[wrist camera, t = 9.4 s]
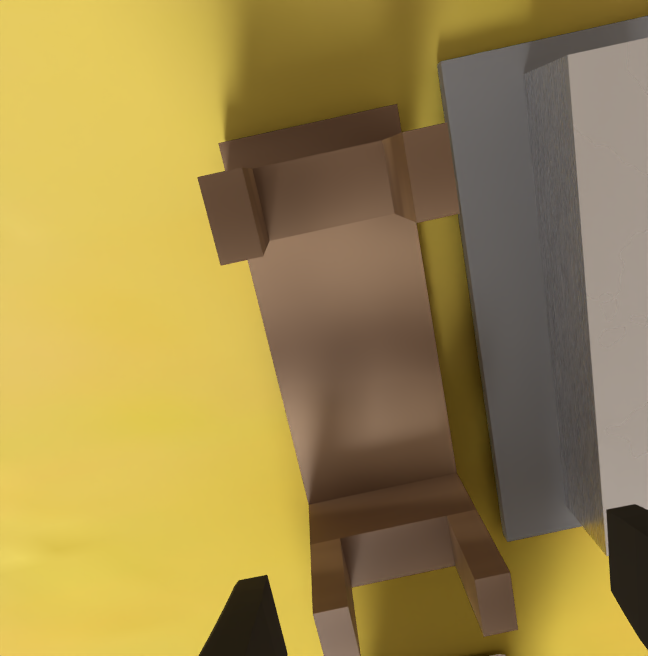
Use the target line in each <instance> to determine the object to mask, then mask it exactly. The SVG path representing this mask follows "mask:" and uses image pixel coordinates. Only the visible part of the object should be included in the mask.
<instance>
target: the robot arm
mask: <svg viewBox="0 0 648 656" xmlns="http://www.w3.org/2000/svg"><path fill="white" fill-rule="evenodd" d="M606 514H607V532H608V549H609V567H610V584H611V591H612V593H613V595H614V597H615V598H616V600H617V602H618V604H619V605H620V607H621V609H622V611H623V612H624V614H625V616H626V617H627V619H628V621H629V622H630V624H631V626H632V627H633V629H634V630H635V632H636V634H637V635H638V637H639V639H640V640H641V641H642V643H643V644H644V645H645V647H646V648H647V649H648V510H647V509H645V508H643V507H641V506H638V505H636V504H632V505H627V506H622V507H617V508H612V509H606ZM199 656H287V650H286V646H285V642H284V638H283V634H282V630H281V626H280V623H279V619H278V615H277V611H276V607H275V603H274V599H273V595H272V592H271V588H270V584H269V580H268V576H267V575H264V576H259V577H254V578H249V579H244V580H239V581H238V582H237V584H236V585H235V586H234V589H233V591H232V593H231V595H230V597H229V599H228V601H227V603H226V605H225V607H224V609H223V611H222V613H221V615H220V617H219V619H218V621H217V623H216V625H215V627H214V628H213V630H212V632H211V634H210V636H209V638H208V640H207V642H206V643H205V645H204V647H203V649H202V651H201V652H200V654H199ZM491 656H506V655H503V654H496V655H491Z"/></svg>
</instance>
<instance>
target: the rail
mask: <svg viewBox="0 0 648 656" xmlns="http://www.w3.org/2000/svg"><path fill="white" fill-rule="evenodd" d="M523 79H524V89H525V99H526V109H527V119H528V129H529V139H530V149H531V159H532V170H533V180H534V190H535V200H536V210H537V220H538V230H539V240H540V250H541V261H542V271H543V281H544V291H545V301H546V311H547V321H548V331H549V342H550V352H551V362H552V372H553V382H554V392H555V402H556V412H557V422H558V433H559V443H560V453H561V463H562V473H563V483H564V493H565V503H566V507H567V508H568V509H569V510H570V512H571V513H572V514H573V515H574V516H575V518H576V519H577V520H578V521H579V523H580V524H581V525H582V526H583V528H584V529H585V530H586V531H587V532H588V534H589V535H590V536H591V537H592V539H593V540H594V541H595V542H596V544H597V545H598V546H599V547H600V548H601V550H602V551H603V552H604V553H605V555H606V556H609V549H608V532H607V514H606V509H612V508H617V507H622V506H627V505H632V504H636V505H638V506H641V507H643V508H645V509H647V510H648V38H644V39H639V40H634V41H630V42H625V43H621V44H616V45H611V46H607V47H602V48H597V49H593V50H588V51H584V52H579V53H574V54H570V55H566V56H564V57H562V58H560V59H557V60H555V61H553V62H551V63H548V64H546V65H544V66H541V67H539V68H537V69H535V70H532V71H530V72H528V73H526V74H523Z"/></svg>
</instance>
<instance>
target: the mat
mask: <svg viewBox="0 0 648 656" xmlns="http://www.w3.org/2000/svg"><path fill="white" fill-rule="evenodd" d="M644 38H648V16H645V17H640V18H635V19H631V20H626V21H622V22H617V23H613V24H608V25H604V26H599V27H595V28H590V29H586V30H581V31H577V32H572V33H568V34H563V35H558V36H554V37H549V38H545V39H540V40H536V41H531V42H527V43H522V44H518V45H513V46H509V47H504V48H500V49H495V50H490V51H486V52H481V53H477V54H472V55H468V56H463V57H459V58H454V59H450V60H445V61H441V62H440V63H438V64H437V68H438V75H439V83H440V90H441V97H442V104H443V111H444V118H445V123H447V125H448V132H449V139H450V146H451V153H452V161H453V168H454V175H455V182H456V189H457V196H458V204H459V211H460V214H458V218H459V225H460V232H461V239H462V246H463V253H464V260H465V267H466V274H467V282H468V289H469V296H470V303H471V310H472V317H473V324H474V331H475V338H476V345H477V353H478V360H479V367H480V374H481V381H482V388H483V395H484V402H485V409H486V416H487V424H488V431H489V438H490V445H491V452H492V459H493V466H494V473H495V480H496V488H497V495H498V502H499V509H500V516H501V523H502V530H503V535H504V537H505V538H506V540H507V542H509V541H514V540H519V539H524V538H528V537H533V536H538V535H542V534H547V533H552V532H557V531H561V530H566V529H571V528H576V527H580V526H582V525H581V524H580V523H579V521H578V520H577V519H576V518H575V516H574V515H573V514H572V513H571V512H570V510H569V509H568V508H567V507H566V503H565V493H564V483H563V473H562V463H561V453H560V443H559V433H558V422H557V412H556V402H555V392H554V382H553V372H552V362H551V352H550V342H549V331H548V321H547V311H546V301H545V291H544V281H543V271H542V261H541V250H540V240H539V230H538V220H537V210H536V200H535V190H534V180H533V170H532V159H531V149H530V139H529V129H528V119H527V109H526V99H525V89H524V79H523V74H526V73H528V72H530V71H532V70H535V69H537V68H539V67H541V66H544V65H546V64H548V63H551V62H553V61H555V60H557V59H560V58H562V57H564V56H566V55H570V54H574V53H579V52H584V51H588V50H593V49H597V48H602V47H607V46H611V45H616V44H621V43H625V42H630V41H634V40H639V39H644Z"/></svg>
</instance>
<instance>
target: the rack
mask: <svg viewBox="0 0 648 656" xmlns="http://www.w3.org/2000/svg"><path fill="white" fill-rule="evenodd" d="M219 147H220V151H221V155H222V159H223V163H224V167H225V171H223V172H219V173H214V174H210V175H205V176H201V177H198V181H199V185H200V189H201V193H202V196H203V200H204V204H205V208H206V211H207V215H208V219H209V223H210V227H211V230H212V234H213V238H214V242H215V246H216V249H217V253H218V257H219V261H220V264H221V265H226V264H230V263H235V262H239V261H244V260H248V263H249V267H250V271H251V275H252V279H253V283H254V287H255V291H256V295H257V299H258V303H259V307H260V311H261V315H262V319H263V323H264V327H265V331H266V335H267V339H268V343H269V347H270V351H271V355H272V359H273V363H274V367H275V371H276V375H277V379H278V383H279V387H280V391H281V395H282V399H283V403H284V407H285V411H286V415H287V419H288V423H289V427H290V431H291V435H292V439H293V443H294V447H295V451H296V455H297V459H298V463H299V467H300V471H301V475H302V479H303V483H304V487H305V491H306V495H307V499H308V503H309V522H310V549H311V576H312V603H313V616H314V620H315V624H316V628H317V631H318V635H319V639H320V643H321V646H322V650H323V654H324V656H361V655H360V647H359V640H358V632H357V625H356V617H355V610H354V602H353V595H352V587H356V586H361V585H366V584H371V583H375V582H380V581H385V580H390V579H394V578H399V577H404V576H409V575H413V574H418V573H423V572H427V571H432V570H437V569H442V568H446V567H451V566H456V569H457V571H458V574H459V576H460V579H461V581H462V584H463V586H464V589H465V591H466V594H467V596H468V599H469V601H470V604H471V606H472V608H473V611H474V613H475V616H476V618H477V621H478V623H479V626H480V628H481V631H482V633H483V636H484V637H485V636H490V635H494V634H499V633H504V632H509V631H514V630H518V626H517V618H516V611H515V604H514V597H513V590H512V583H511V575H510V571H509V570H508V568H507V566H506V564H505V562H504V560H503V558H502V556H501V555H500V553H499V551H498V549H497V547H496V545H495V543H494V542H493V540H492V538H491V536H490V534H489V532H488V530H487V528H486V527H485V525H484V523H483V521H482V519H481V517H480V515H479V514H478V512H477V510H476V508H475V506H474V504H473V502H472V501H471V499H470V497H469V495H468V493H467V491H466V489H465V487H464V486H463V484H462V482H461V480H460V478H459V476H458V474H457V471H456V465H455V459H454V453H453V446H452V440H451V434H450V428H449V422H448V416H447V409H446V403H445V397H444V391H443V385H442V378H441V372H440V366H439V360H438V354H437V348H436V341H435V335H434V329H433V323H432V317H431V311H430V304H429V298H428V292H427V286H426V280H425V274H424V267H423V261H422V255H421V249H420V243H419V237H418V230H417V224H416V223H419V222H423V221H428V220H432V219H437V218H442V217H446V216H451V215H455V214H460V211H459V204H458V196H457V189H456V182H455V175H454V168H453V161H452V153H451V146H450V139H449V132H448V125H447V123H442V124H437V125H433V126H428V127H424V128H419V129H415V130H410V131H406V132H401V125H400V119H399V113H398V107H397V104H395V105H390V106H386V107H381V108H376V109H372V110H367V111H363V112H358V113H354V114H349V115H345V116H340V117H336V118H331V119H326V120H322V121H317V122H313V123H308V124H304V125H299V126H295V127H290V128H286V129H281V130H276V131H272V132H267V133H263V134H258V135H254V136H249V137H245V138H240V139H236V140H231V141H226V142H222V143H219Z"/></svg>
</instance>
